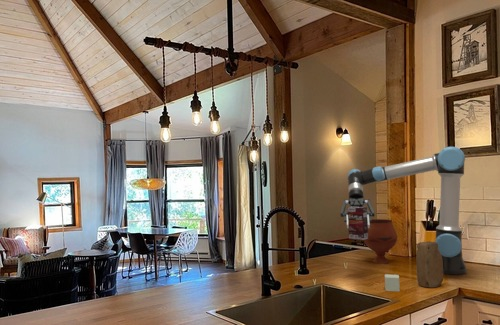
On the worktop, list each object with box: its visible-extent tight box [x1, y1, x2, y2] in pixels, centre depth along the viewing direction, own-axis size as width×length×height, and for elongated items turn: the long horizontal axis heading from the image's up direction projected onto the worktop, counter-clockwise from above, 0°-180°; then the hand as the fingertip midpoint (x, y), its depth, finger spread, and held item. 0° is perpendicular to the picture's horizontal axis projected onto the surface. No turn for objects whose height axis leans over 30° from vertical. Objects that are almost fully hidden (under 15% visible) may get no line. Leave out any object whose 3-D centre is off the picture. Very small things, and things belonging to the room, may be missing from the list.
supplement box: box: [347, 206, 368, 241], centre depth 208 cm, size 9×5×16 cm, turn 47°
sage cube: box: [384, 273, 401, 292], centre depth 186 cm, size 6×6×6 cm
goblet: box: [363, 218, 398, 265], centre depth 245 cm, size 19×19×25 cm
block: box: [415, 240, 444, 289], centre depth 191 cm, size 11×8×20 cm
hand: (358, 226), depth 205 cm, fingers closed on supplement box, 9 cm apart
